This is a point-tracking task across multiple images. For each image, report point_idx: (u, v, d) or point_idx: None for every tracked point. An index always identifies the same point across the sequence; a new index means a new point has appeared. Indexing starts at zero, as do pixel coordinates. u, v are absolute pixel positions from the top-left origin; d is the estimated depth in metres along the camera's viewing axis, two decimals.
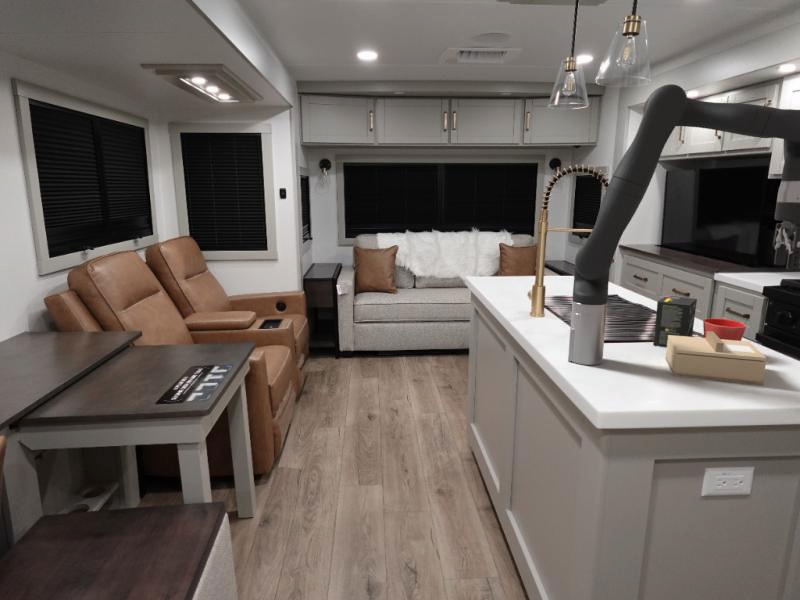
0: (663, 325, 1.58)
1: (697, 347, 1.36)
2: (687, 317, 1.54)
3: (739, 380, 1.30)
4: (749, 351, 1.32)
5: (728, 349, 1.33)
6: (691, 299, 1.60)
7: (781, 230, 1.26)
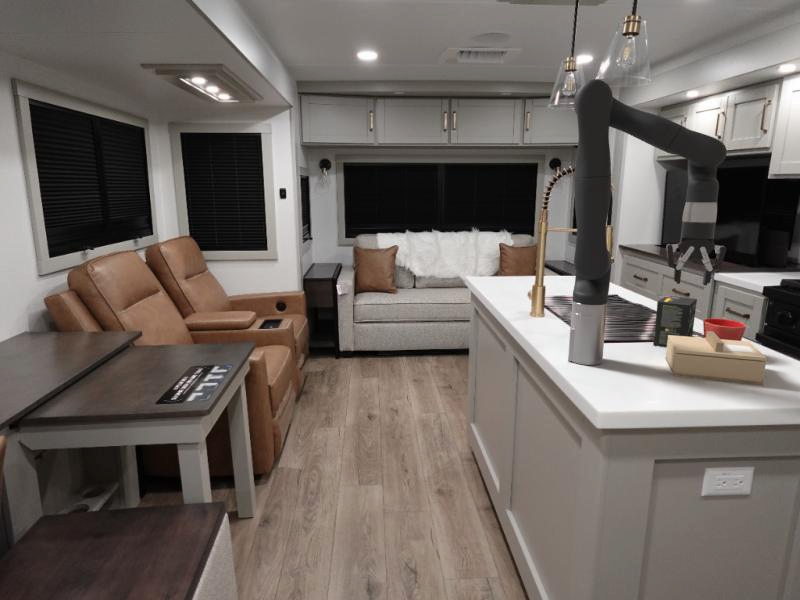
0: (663, 325, 1.58)
1: (697, 347, 1.36)
2: (687, 317, 1.54)
3: (739, 380, 1.30)
4: (749, 351, 1.32)
5: (728, 349, 1.33)
6: (691, 299, 1.60)
7: (693, 248, 1.33)
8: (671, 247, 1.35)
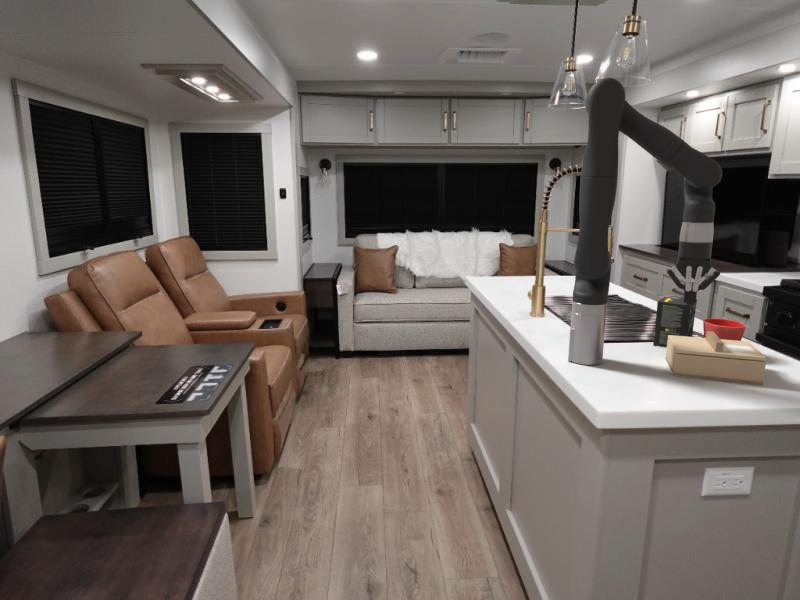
0: (663, 325, 1.58)
1: (697, 347, 1.36)
2: (687, 317, 1.54)
3: (739, 380, 1.30)
4: (749, 351, 1.32)
5: (728, 349, 1.33)
6: None
7: (690, 266, 1.34)
8: (671, 271, 1.36)
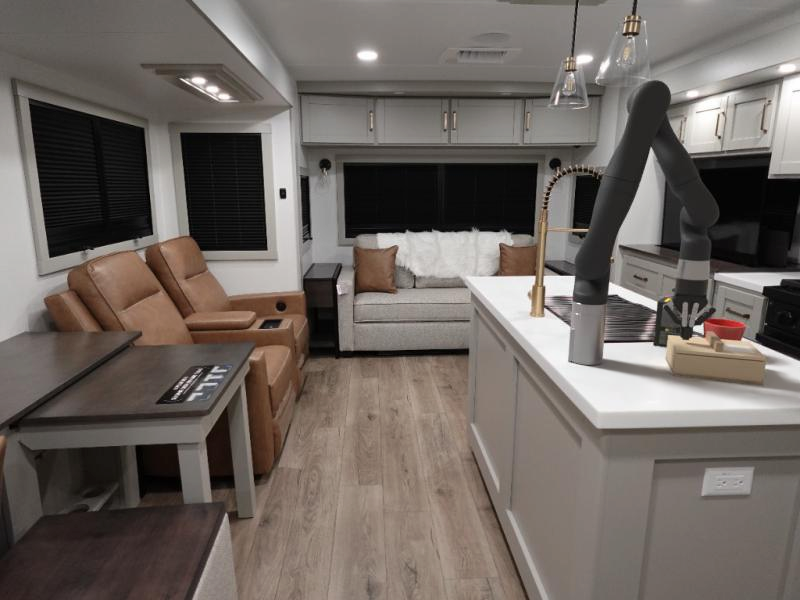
0: (663, 325, 1.58)
1: (697, 347, 1.36)
2: (687, 317, 1.54)
3: (739, 380, 1.30)
4: (749, 351, 1.32)
5: (728, 349, 1.33)
6: None
7: (686, 303, 1.36)
8: (667, 307, 1.38)
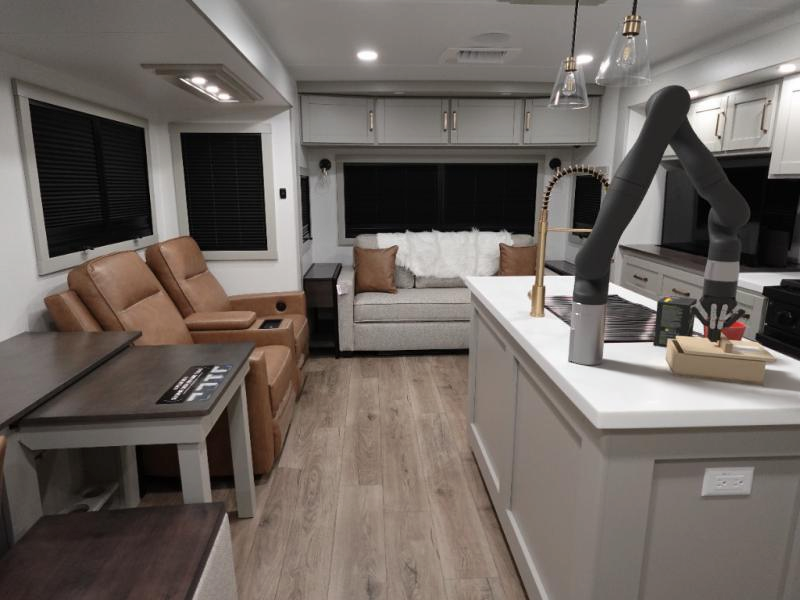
0: (663, 325, 1.58)
1: (706, 348, 1.35)
2: (687, 317, 1.54)
3: (739, 380, 1.30)
4: (758, 352, 1.31)
5: (737, 350, 1.33)
6: (691, 299, 1.60)
7: (715, 304, 1.34)
8: (695, 308, 1.36)
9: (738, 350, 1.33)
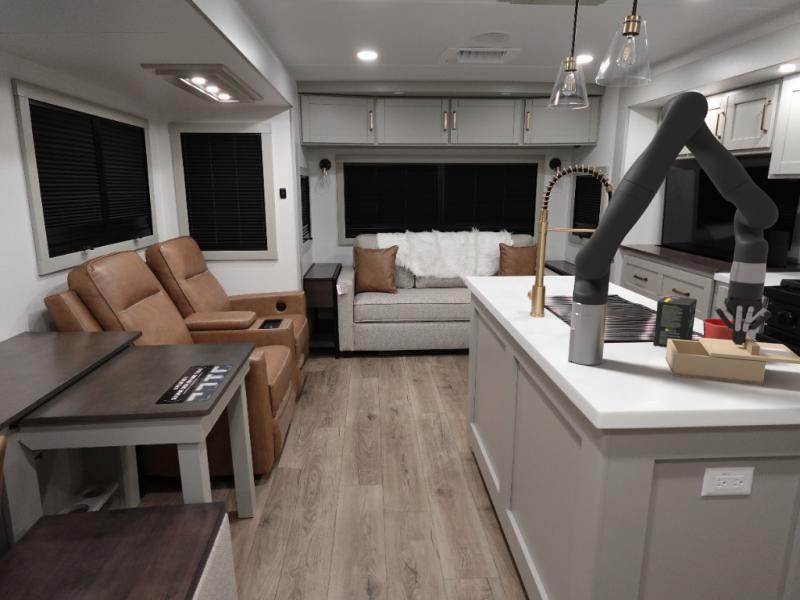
0: (663, 325, 1.58)
1: (731, 350, 1.33)
2: (687, 317, 1.54)
3: (739, 380, 1.30)
4: (785, 354, 1.29)
5: (763, 352, 1.31)
6: (691, 299, 1.60)
7: (741, 306, 1.32)
8: (720, 310, 1.34)
9: (764, 352, 1.31)
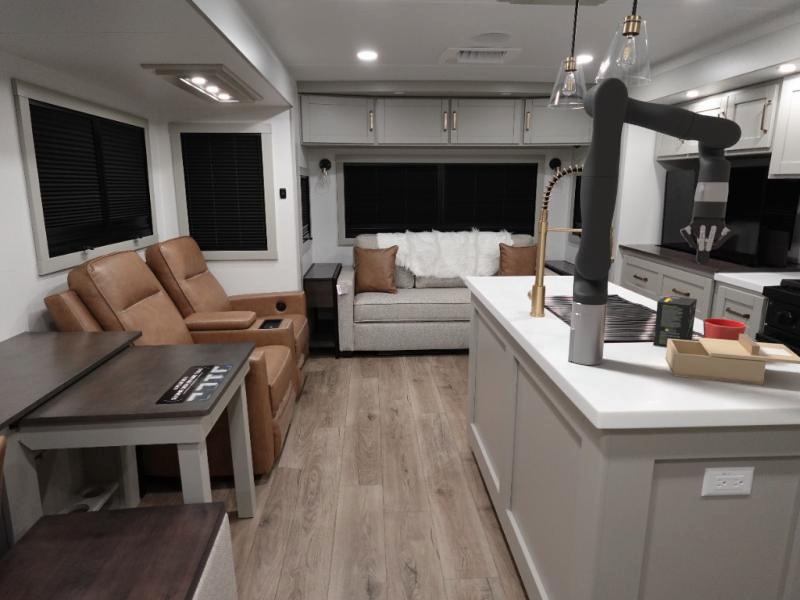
0: (663, 325, 1.58)
1: (731, 350, 1.33)
2: (687, 317, 1.54)
3: (739, 380, 1.30)
4: (785, 354, 1.29)
5: (763, 352, 1.31)
6: (691, 299, 1.60)
7: (704, 226, 1.37)
8: (685, 231, 1.39)
9: (765, 352, 1.31)
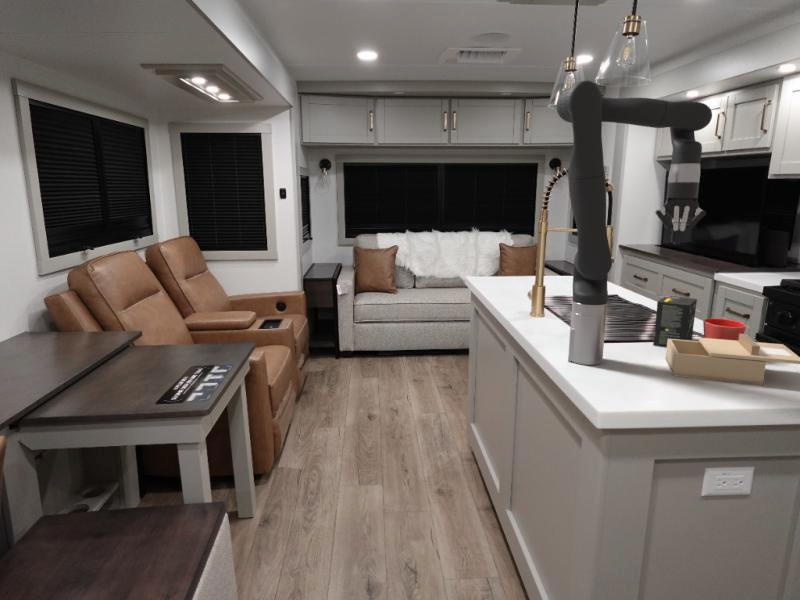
0: (663, 325, 1.58)
1: (731, 350, 1.33)
2: (687, 317, 1.54)
3: (739, 380, 1.30)
4: (785, 354, 1.29)
5: (763, 352, 1.31)
6: (691, 299, 1.60)
7: (678, 206, 1.41)
8: (660, 212, 1.43)
9: (765, 352, 1.31)
